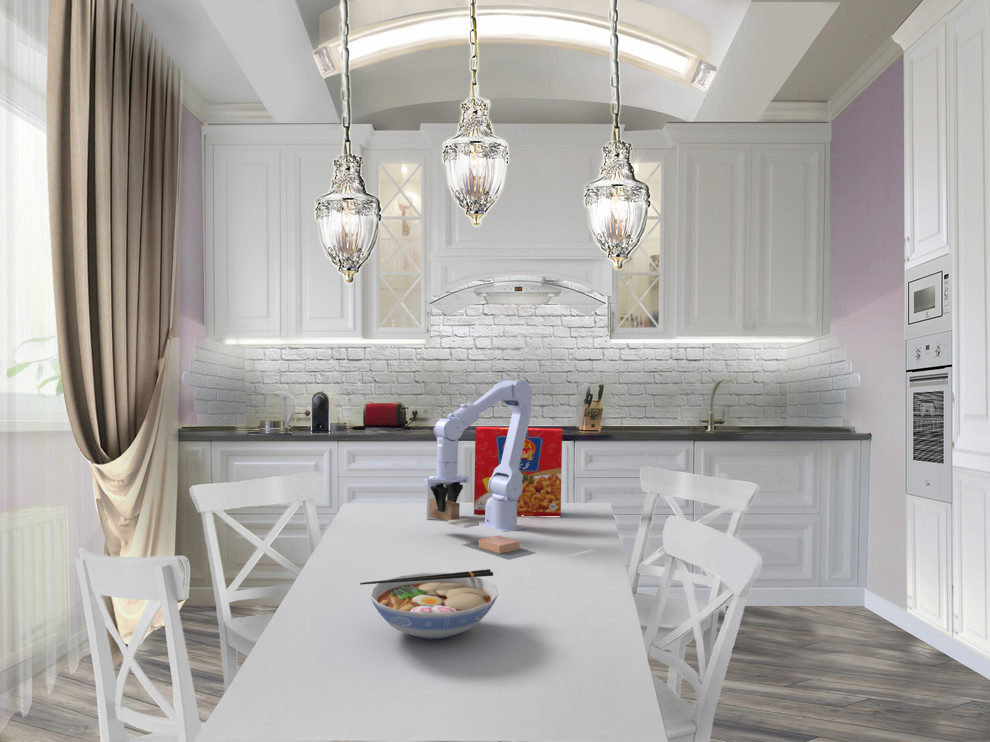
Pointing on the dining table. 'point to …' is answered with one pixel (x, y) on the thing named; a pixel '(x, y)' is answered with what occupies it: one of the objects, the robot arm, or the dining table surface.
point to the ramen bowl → (434, 602)
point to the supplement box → (430, 496)
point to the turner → (450, 514)
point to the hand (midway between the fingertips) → (446, 510)
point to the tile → (499, 544)
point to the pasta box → (522, 469)
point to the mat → (507, 555)
